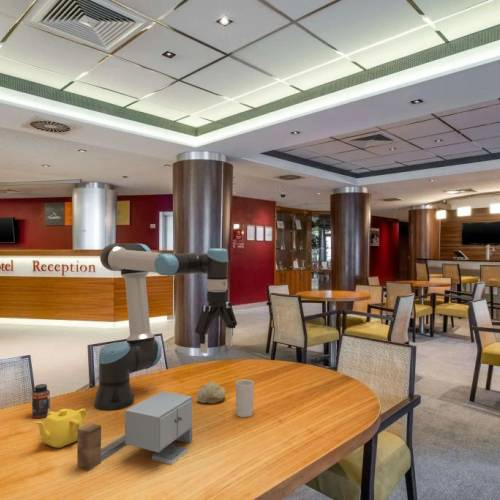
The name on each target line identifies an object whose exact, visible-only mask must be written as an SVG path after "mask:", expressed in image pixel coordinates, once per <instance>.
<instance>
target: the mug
mask: <svg viewBox="0 0 500 500" xmlns="http://www.w3.org/2000/svg"><path fill="white" fill-rule="evenodd" d="M254 389H255V387H254V381H253V380H251V379H238V380H237V381H236V382H235V402H236V403H235V405H236V407H235V408H236V409H235V411H236V412H235V413H236V416H237V417H239V418H249V417H252V416H253V415H254V393H255V392H254Z"/></svg>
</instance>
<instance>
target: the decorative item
mask: <svg viewBox="0 0 500 500" xmlns="http://www.w3.org/2000/svg"><path fill="white" fill-rule="evenodd" d="M225 397H226V389H225V388H224V387H223V386H220V384H218V383H217V382H216V381H210V382H208V383H205V384H204V385H203V386H201V387H200V388H199V390H198V391H197V395H196V398H197V401H198V402H199V403H203V404H205V403H208V404H217V403H220V402H222V401H223V400H224V398H225Z"/></svg>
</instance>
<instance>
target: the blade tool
mask: <svg viewBox="0 0 500 500" xmlns="http://www.w3.org/2000/svg"><path fill="white" fill-rule="evenodd" d="M76 442H77V443H76V444H77V445H76V446H77V448H76V449H77V451H76V452H77V457H76V459H77V460H76V461H77V463H76V465H77V468H78V469H81V468H82V469H81V470H85V469H86V470H85V471H88V470H90V471H91V470H93V469H94V467H95V466H96V467H98V466H99V465H100V463H101V464H102V462H103V461H104V460H106V459H107V458H109V457H111V456H113V455H114V454H115V453H116V452H118V451H120V450H122V449H123V448H125V447H126V446H128V445H127V444H125V434H123V435H121V436H120V437H118V438H116V439H115V440H113V441H112V442H109V443H107V445H105V446H102V425H99V424H96V423H91V422H88V423H86V424H84V426H82V427H80V428H78V429H77V441H76ZM110 455H111V456H110ZM102 460H103V461H102ZM98 464H99V465H98ZM97 465H98V466H97ZM96 467H95V468H96ZM92 468H93V469H92Z"/></svg>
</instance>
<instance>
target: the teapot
mask: <svg viewBox="0 0 500 500" xmlns="http://www.w3.org/2000/svg"><path fill="white" fill-rule="evenodd" d="M86 413H87V409H86V408H80V409H78V410H75V409H71V408H62V409H59V410H58V411H56V412H55V411H52V410H50V412H48V413H47V416H46V417H45V420H44V421H40V420H39V421H34V424H36V425H38V426H39V429H38V430H39V435H40V437H41V440H42V442H43V443H44V444H45V445H48V446H49V447H53V448H59V449H60V448H64V447H65V446H68V445H70V444H73V443H74V442H77V429H78V428H80V427H82V426H84V425H85V423H84V419H85V416H86Z"/></svg>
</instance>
